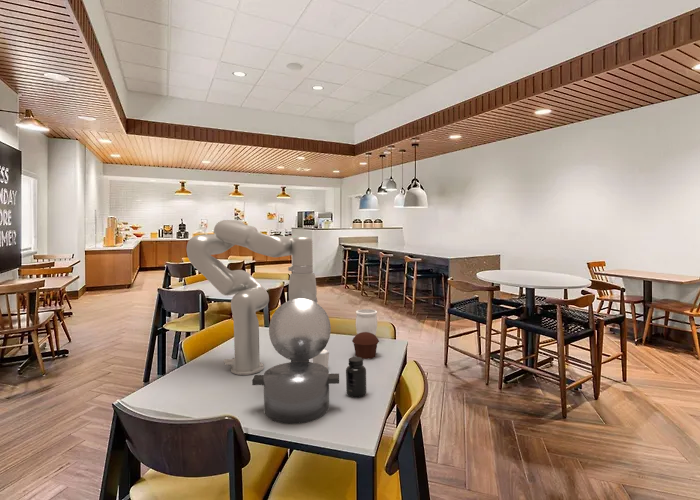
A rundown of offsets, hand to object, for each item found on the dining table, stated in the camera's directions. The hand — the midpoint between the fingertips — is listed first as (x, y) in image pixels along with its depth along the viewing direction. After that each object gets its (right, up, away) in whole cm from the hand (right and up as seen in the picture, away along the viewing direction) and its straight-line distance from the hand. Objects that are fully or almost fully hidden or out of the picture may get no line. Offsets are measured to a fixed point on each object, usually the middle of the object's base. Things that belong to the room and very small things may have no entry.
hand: (303, 318), depth 143 cm
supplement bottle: (+20, -23, -14) cm, 33 cm away
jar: (+26, -19, +45) cm, 55 cm away
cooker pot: (+1, -24, -23) cm, 33 cm away
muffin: (+24, -21, +24) cm, 40 cm away
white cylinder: (+6, -22, +10) cm, 24 cm away
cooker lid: (0, -2, -13) cm, 13 cm away
